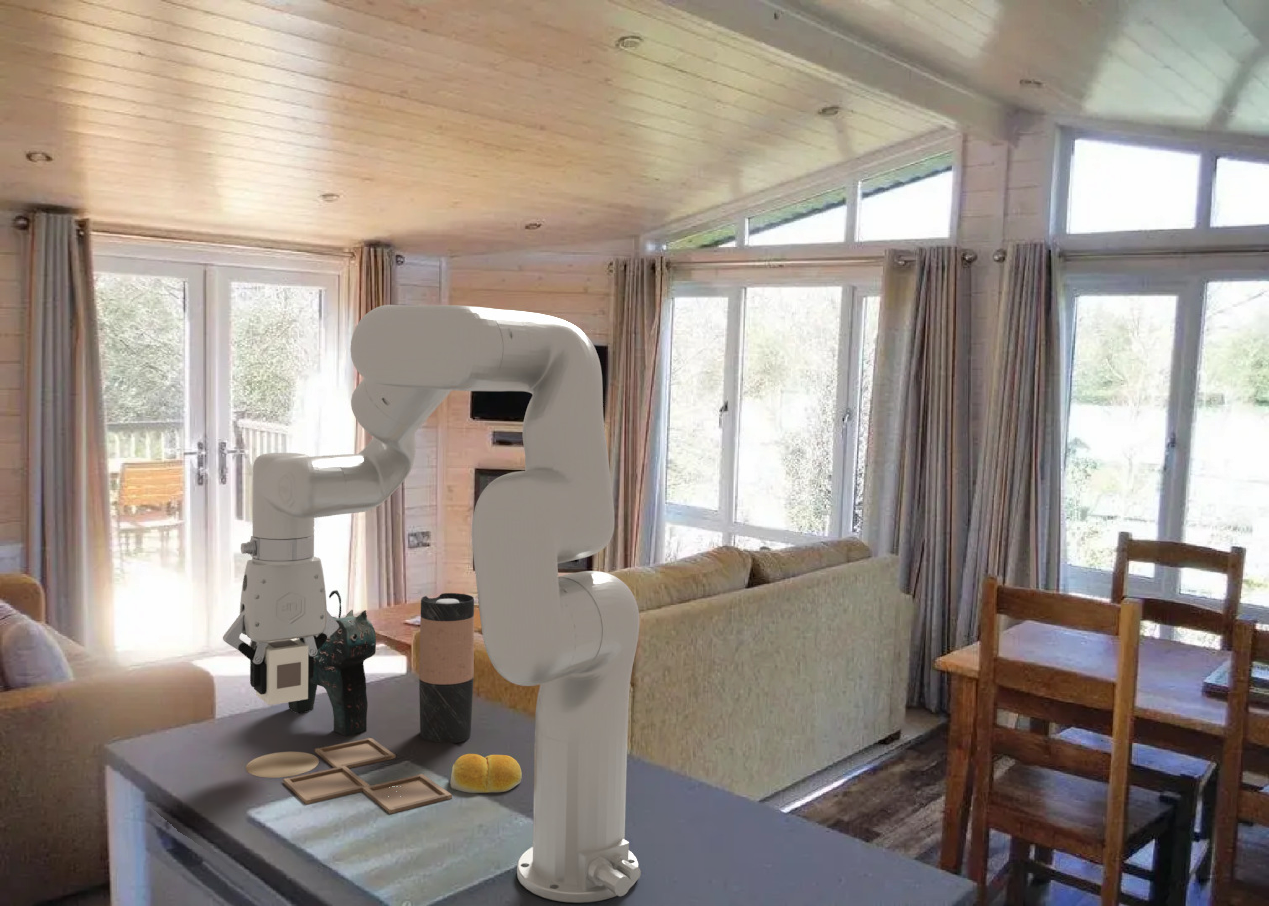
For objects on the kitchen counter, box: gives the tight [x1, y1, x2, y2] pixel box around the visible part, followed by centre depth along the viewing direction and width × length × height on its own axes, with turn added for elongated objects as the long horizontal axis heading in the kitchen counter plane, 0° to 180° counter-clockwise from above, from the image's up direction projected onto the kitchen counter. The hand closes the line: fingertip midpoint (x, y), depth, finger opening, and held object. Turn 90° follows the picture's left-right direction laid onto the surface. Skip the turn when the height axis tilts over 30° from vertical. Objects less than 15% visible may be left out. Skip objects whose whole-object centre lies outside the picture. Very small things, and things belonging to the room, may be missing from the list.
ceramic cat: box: [287, 589, 377, 737], centre depth 151 cm, size 20×6×20 cm, turn 45°
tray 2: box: [282, 766, 371, 805], centre depth 127 cm, size 8×8×1 cm
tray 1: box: [314, 737, 397, 769], centre depth 138 cm, size 8×8×1 cm
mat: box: [245, 751, 320, 779], centre depth 134 cm, size 9×9×1 cm
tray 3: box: [362, 773, 453, 814], centre depth 125 cm, size 8×8×1 cm
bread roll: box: [449, 753, 523, 794], centre depth 130 cm, size 8×9×4 cm
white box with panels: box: [255, 638, 308, 706], centre depth 133 cm, size 5×5×7 cm
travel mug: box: [418, 592, 475, 745], centre depth 146 cm, size 8×8×20 cm
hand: (282, 686), depth 133 cm, fingers closed on white box with panels, 5 cm apart
